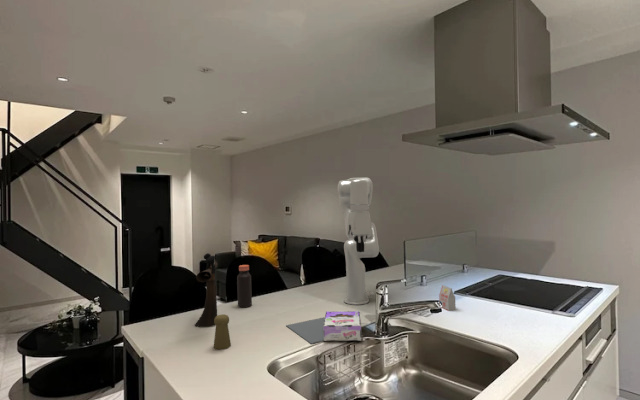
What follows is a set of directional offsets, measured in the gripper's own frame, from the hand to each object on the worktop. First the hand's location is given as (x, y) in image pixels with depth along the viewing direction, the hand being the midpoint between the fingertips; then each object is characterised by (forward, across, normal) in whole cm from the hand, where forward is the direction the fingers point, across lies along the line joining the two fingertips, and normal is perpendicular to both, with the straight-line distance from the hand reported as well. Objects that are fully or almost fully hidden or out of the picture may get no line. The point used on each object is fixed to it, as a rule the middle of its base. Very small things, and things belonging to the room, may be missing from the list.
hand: (360, 251), depth 150 cm
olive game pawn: (+29, +58, -5) cm, 65 cm away
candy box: (+26, +11, +2) cm, 28 cm away
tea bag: (+29, -42, +9) cm, 52 cm away
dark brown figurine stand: (+29, +58, -32) cm, 72 cm away
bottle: (+29, +36, -49) cm, 67 cm away
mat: (+29, +22, 0) cm, 36 cm away
